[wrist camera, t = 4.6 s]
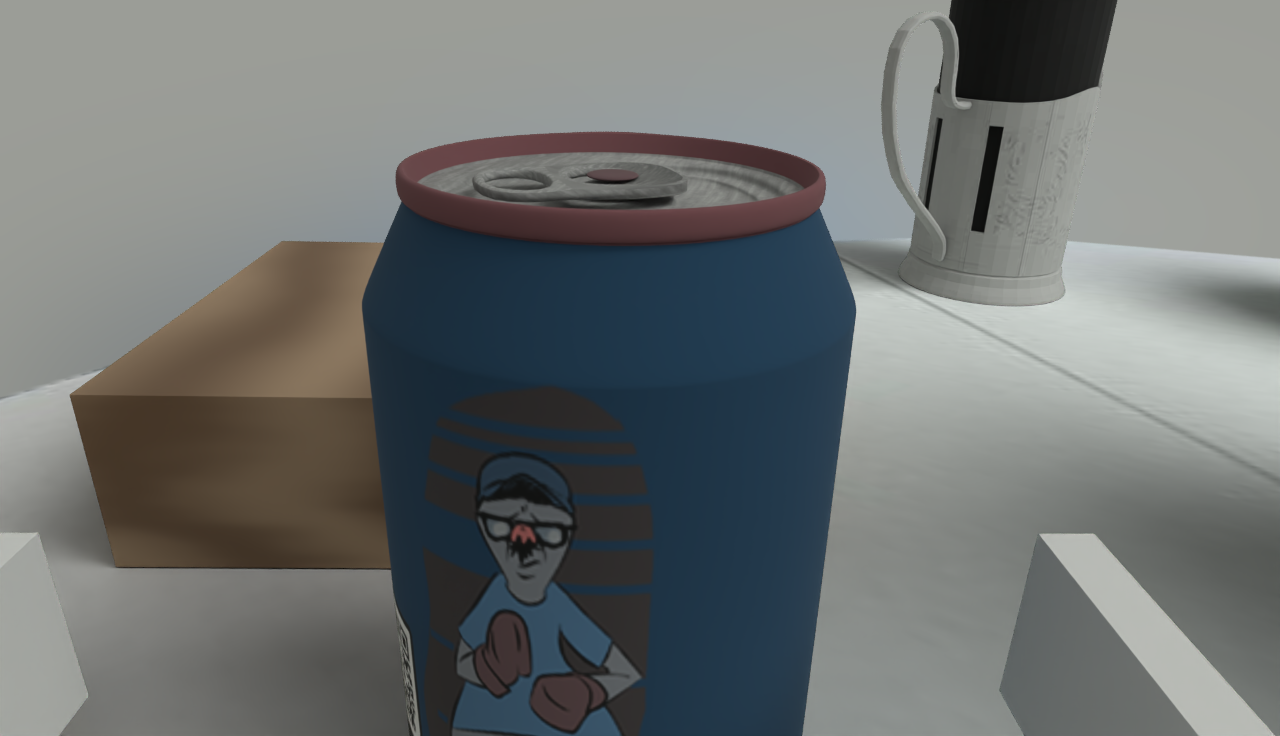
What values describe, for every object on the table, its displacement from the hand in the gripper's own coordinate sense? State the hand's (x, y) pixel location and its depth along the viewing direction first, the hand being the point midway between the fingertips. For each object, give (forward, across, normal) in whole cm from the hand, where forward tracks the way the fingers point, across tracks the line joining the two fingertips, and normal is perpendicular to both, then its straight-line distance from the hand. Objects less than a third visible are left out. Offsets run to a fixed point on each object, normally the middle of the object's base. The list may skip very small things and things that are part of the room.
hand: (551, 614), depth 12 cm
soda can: (+2, +1, -6) cm, 7 cm away
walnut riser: (+16, -3, -6) cm, 18 cm away
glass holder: (+34, +19, -7) cm, 40 cm away
